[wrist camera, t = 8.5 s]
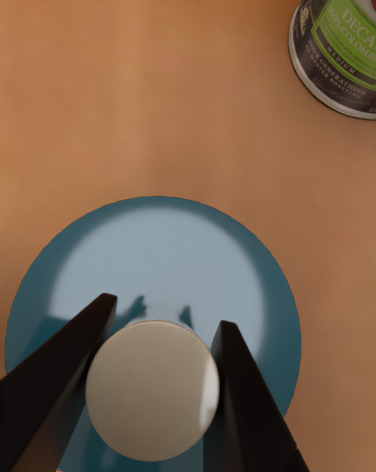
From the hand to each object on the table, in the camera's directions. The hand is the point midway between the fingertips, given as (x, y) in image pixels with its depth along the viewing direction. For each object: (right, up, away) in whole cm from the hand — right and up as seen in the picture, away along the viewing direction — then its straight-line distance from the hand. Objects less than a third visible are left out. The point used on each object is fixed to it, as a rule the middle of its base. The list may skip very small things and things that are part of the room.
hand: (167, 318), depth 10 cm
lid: (-1, -3, +7) cm, 8 cm away
